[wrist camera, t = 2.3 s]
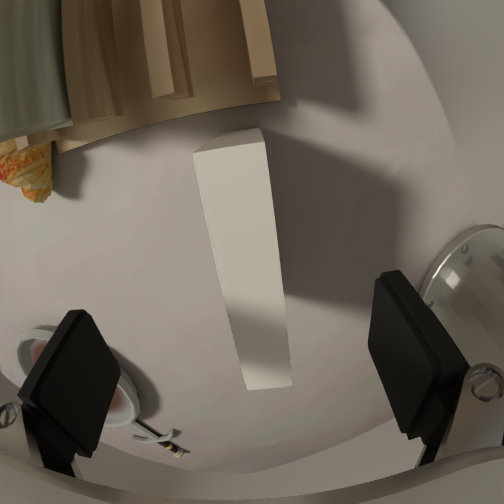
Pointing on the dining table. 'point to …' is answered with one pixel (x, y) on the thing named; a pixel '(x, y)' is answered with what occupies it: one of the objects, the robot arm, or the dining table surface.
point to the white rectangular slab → (246, 252)
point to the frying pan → (125, 395)
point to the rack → (126, 65)
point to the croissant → (27, 169)
